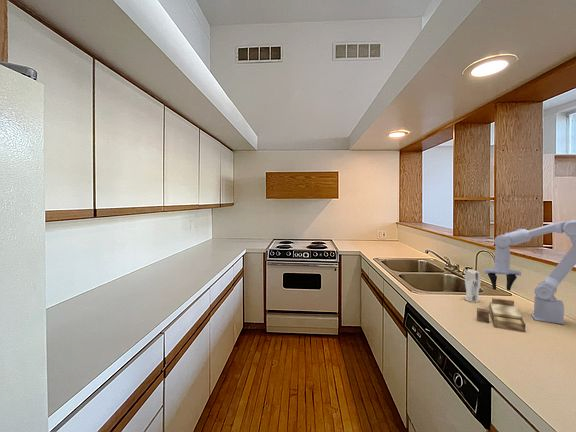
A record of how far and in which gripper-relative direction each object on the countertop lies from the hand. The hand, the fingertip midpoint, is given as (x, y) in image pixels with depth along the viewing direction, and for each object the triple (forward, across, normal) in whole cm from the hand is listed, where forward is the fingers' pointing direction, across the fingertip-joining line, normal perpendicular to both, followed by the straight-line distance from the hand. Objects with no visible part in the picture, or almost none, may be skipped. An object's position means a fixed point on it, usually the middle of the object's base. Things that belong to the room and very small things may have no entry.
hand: (501, 289), depth 142 cm
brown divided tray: (+9, -3, -15) cm, 18 cm away
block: (+10, -12, -17) cm, 23 cm away
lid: (+6, -3, -12) cm, 14 cm away
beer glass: (+10, -9, +11) cm, 17 cm away
